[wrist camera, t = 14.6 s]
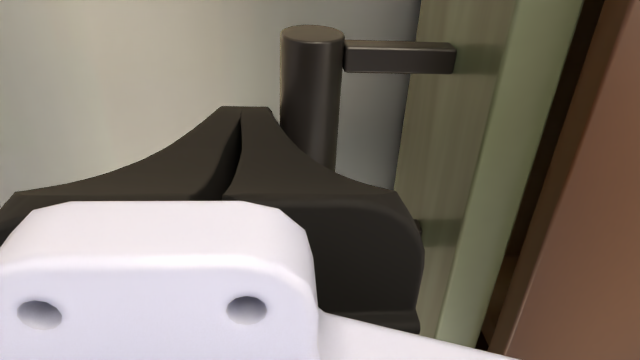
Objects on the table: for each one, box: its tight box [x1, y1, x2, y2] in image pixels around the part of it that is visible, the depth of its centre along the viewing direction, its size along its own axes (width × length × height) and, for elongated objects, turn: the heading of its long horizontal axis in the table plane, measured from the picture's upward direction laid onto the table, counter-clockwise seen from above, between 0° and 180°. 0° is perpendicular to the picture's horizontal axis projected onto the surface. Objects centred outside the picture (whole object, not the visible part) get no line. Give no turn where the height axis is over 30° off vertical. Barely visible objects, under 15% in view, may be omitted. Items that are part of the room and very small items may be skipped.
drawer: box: [280, 0, 605, 349], centre depth 13 cm, size 17×13×6 cm
